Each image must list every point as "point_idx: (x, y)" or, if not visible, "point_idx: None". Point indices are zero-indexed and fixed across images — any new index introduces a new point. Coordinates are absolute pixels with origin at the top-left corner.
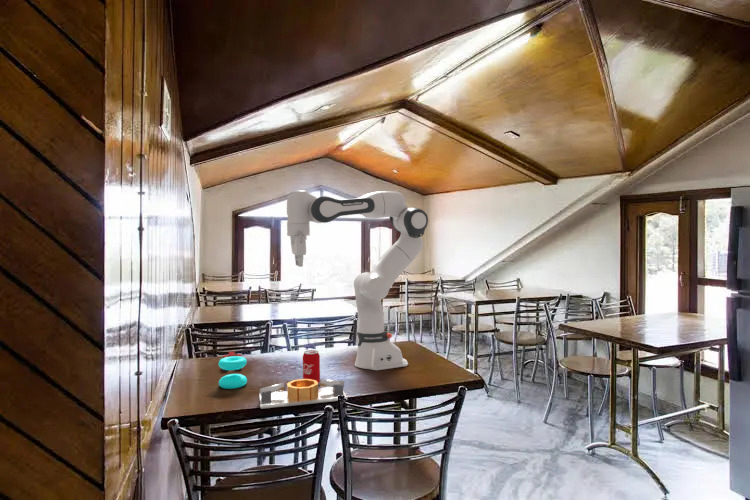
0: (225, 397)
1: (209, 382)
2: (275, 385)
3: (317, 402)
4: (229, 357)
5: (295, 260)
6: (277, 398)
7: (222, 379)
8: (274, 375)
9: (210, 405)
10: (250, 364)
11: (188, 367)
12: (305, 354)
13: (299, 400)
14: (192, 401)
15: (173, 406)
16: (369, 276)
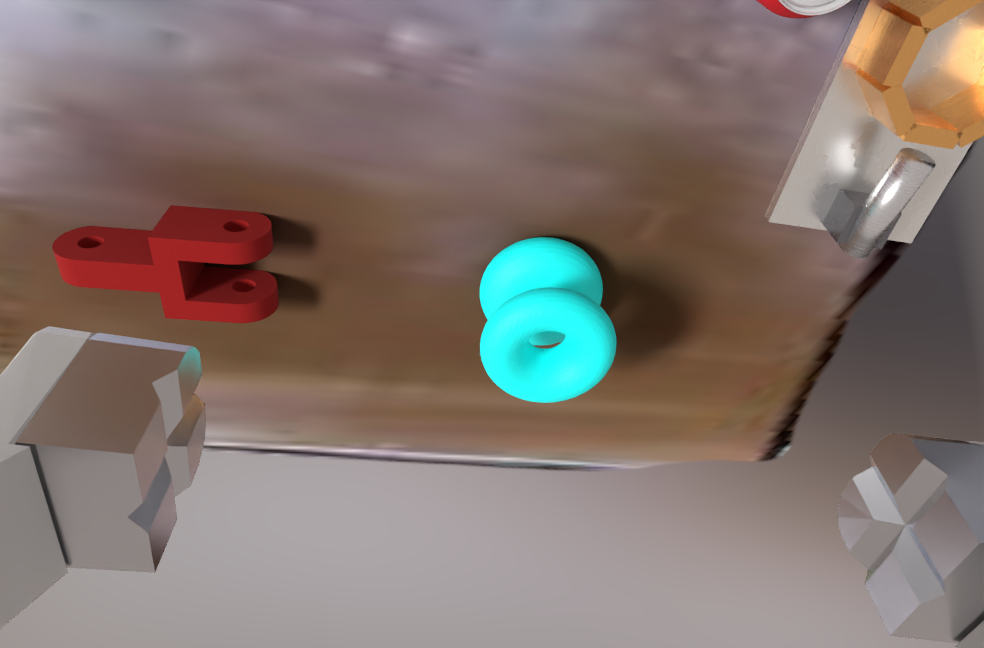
0: (681, 323)
1: (445, 353)
2: (905, 201)
3: None
4: (510, 367)
5: (18, 592)
6: (884, 167)
7: (553, 342)
8: (463, 81)
9: (736, 369)
10: (171, 158)
11: None
12: (827, 10)
13: None
14: (655, 410)
15: (669, 452)
16: None
